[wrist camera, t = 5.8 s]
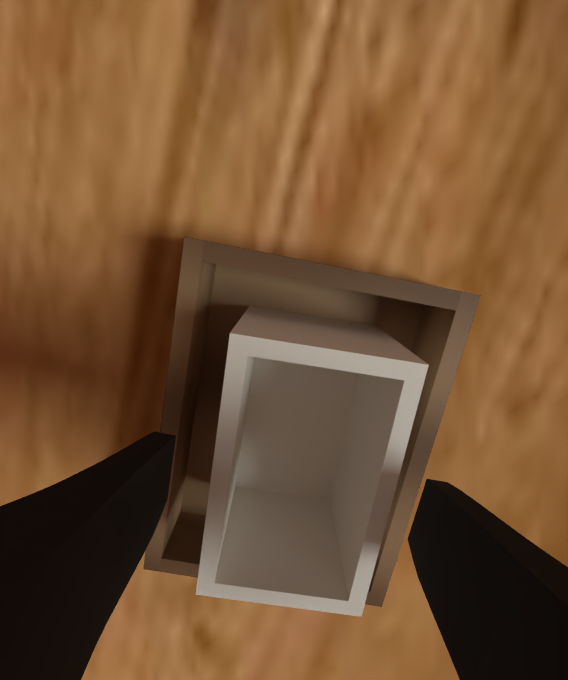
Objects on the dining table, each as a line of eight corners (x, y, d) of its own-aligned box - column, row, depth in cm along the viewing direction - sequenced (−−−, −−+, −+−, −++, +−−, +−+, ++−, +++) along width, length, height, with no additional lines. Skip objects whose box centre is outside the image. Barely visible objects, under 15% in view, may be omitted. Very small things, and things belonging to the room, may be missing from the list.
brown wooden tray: (364, 543, 17) (381, 606, 14) (169, 511, 16) (143, 569, 13) (438, 286, 14) (480, 295, 11) (206, 241, 14) (184, 236, 11)
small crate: (337, 503, 16) (361, 616, 11) (223, 487, 15) (195, 594, 10) (377, 326, 14) (429, 364, 9) (249, 305, 14) (229, 333, 9)
